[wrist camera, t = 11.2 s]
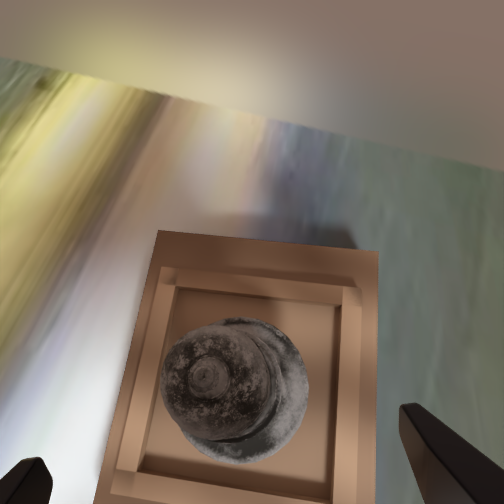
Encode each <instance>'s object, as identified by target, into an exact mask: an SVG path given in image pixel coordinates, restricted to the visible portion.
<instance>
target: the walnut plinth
mask: <svg viewBox="0 0 504 504" xmlns="http://www.w3.org/2000/svg"><path fill="white" fill-rule="evenodd" d="M378 255H379V252H377V251H367V250H356V249H346V248H336V247H326V246H316V245H305V244H295V243H285V242H275V241H264V240H254V239H244V238H234V237H223V236H213V235H203V234H193V233H183V232H172V231H162V230H158V233H157V238H156V242H155V246H154V250H153V254H152V258H151V263H150V267H149V271H148V275H147V279H146V284H145V288H144V292H143V296H142V300H141V304H140V309H139V313H138V317H137V321H136V325H135V330H134V334H133V338H132V342H131V346H130V351H129V355H128V359H127V363H126V367H125V371H124V376H123V380H122V384H121V388H120V392H119V397H118V401H117V405H116V409H115V413H114V417H113V422H112V426H111V430H110V434H109V438H108V443H107V447H106V451H105V455H104V459H103V463H102V468H101V472H100V476H99V480H98V484H97V489H96V493H95V497H94V501H93V504H375V466H376V396H377V325H378ZM241 316H242V317H249V318H255V319H260V320H262V321H264V322H267V323H269V324H271V325H274V326H275V327H276V328H278V329H279V330H280V331H281V332H283V333H284V334H285V335H286V336H288V337H289V339H290V340H291V341H292V343H293V344H294V345H295V347H296V348H297V349H298V351H299V353H300V355H301V357H302V360H303V362H304V364H305V367H306V371H307V377H308V384H309V393H308V403H307V409H306V412H305V414H304V417H303V420H302V423H301V425H300V427H299V428H298V430H297V431H296V433H295V434H294V436H293V437H292V438H291V440H290V441H289V443H287V444H286V445H285V446H284V447H282V448H281V449H280V450H279V451H278V452H276V453H275V454H274V455H272V456H270V457H267V458H265V459H263V460H260V461H258V462H256V463H247V464H238V465H235V464H230V463H224V462H219V461H216V460H214V459H212V458H210V457H208V456H207V455H205V454H203V453H201V452H199V451H198V450H197V449H196V448H195V447H194V446H193V445H192V444H191V443H190V442H189V441H188V440H187V439H186V438H185V436H184V434H183V432H182V431H181V429H180V427H179V426H178V424H177V423H176V422H175V421H174V420H173V419H172V418H171V416H170V414H169V413H168V411H167V409H166V407H165V406H164V402H163V398H162V395H161V389H160V375H161V371H162V366H163V362H164V360H165V358H166V356H167V354H168V352H169V350H170V349H171V348H172V346H173V345H174V344H175V343H176V342H177V340H178V339H180V338H181V337H182V336H184V335H185V334H187V333H188V332H189V331H192V330H195V329H197V328H200V327H202V326H208V325H209V324H212V323H214V322H217V321H219V320H222V319H224V318H233V317H241Z"/></svg>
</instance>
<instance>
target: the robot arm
mask: <svg viewBox="0 0 504 504" xmlns="http://www.w3.org/2000/svg"><path fill="white" fill-rule="evenodd" d="M399 433H400V437H401V440H402V443H403V446H404V448H405V451H406V454H407V457H408V459H409V462H410V465H411V467H412V470H413V473H414V476H415V478H416V481H417V484H418V486H419V489H420V492H421V494H422V497H423V500H424V502H425V504H504V470H503V469H502V468H501V467H499V466H498V465H497V464H496V463H494V462H493V461H492V460H490V459H489V458H488V457H487V456H485V455H484V454H483V453H481V452H480V451H479V450H478V449H476V448H475V447H474V446H472V445H471V444H470V443H469V442H467V441H466V440H465V439H463V438H462V437H461V436H459V435H458V434H457V433H456V432H454V431H453V430H452V429H450V428H449V427H448V426H447V425H445V424H444V423H443V422H441V421H440V420H439V419H438V418H436V417H435V416H434V415H432V414H431V413H430V412H429V411H427V410H426V409H425V408H423V407H422V406H421V405H419V404H418V403H408V404H402V405H401V406H400V408H399ZM52 487H53V480H52V476H51V474H50V472H49V471H48V469H47V467H46V465H45V463H44V461H43V459H42V458H40V457H33V458H26V459H23V460H21V461H20V462H19V463H18V464H16V465H15V466H14V467H13V468H12V469H11V470H10V471H9V472H8V473H7V474H6V475H5V476H4V477H3V478H2V479H0V504H49V500H50V496H51V492H52Z"/></svg>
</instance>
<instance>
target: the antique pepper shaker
mask: <svg viewBox="0 0 504 504" xmlns="http://www.w3.org/2000/svg"><path fill="white" fill-rule="evenodd" d="M160 389H161V395H162V398H163V402H164V406H165V407H166V409H167V411H168V413H169V414H170V416H171V418H172V419H173V420H174V421H175V422H176V423H177V424H178V426H179V427H180V429H181V431H182V432H183V434H184V436H185V438H186V439H187V440H188V441H189V442H190V443H191V444H192V445H193V446H194V447H195V448H196V449H197V450H198V451H199V452H201V453H203V454H205V455H207V456H208V457H210V458H212V459H214V460H216V461H219V462H224V463H230V464H235V465H238V464H247V463H256V462H258V461H260V460H263V459H265V458H267V457H270V456H272V455H274V454H275V453H276V452H278V451H279V450H280V449H281V448H282V447H284V446H285V445H286V444H287V443H289V441H290V440H291V438H292V437H293V436H294V434H295V433H296V431H297V430H298V428H299V427H300V425H301V423H302V420H303V417H304V414H305V412H306V409H307V403H308V393H309V384H308V377H307V371H306V367H305V364H304V362H303V360H302V357H301V355H300V353H299V351H298V349H297V348H296V347H295V345H294V344H293V343H292V341H291V340H290V339H289V337H288V336H286V335H285V334H284V333H283V332H281V331H280V330H279V329H278V328H276V327H275V326H274V325H271V324H269V323H267V322H264V321H262V320H260V319H255V318H249V317H242V316H241V317H233V318H224V319H222V320H219V321H217V322H214V323H212V324H209V325H208V326H202V327H200V328H197V329H195V330H192V331H189V332H188V333H187V334H185V335H184V336H182V337H181V338H180V339H178V340H177V342H176V343H175V344H174V345H173V346H172V348H171V349H170V350H169V352H168V354H167V356H166V358H165V360H164V362H163V366H162V371H161V375H160Z"/></svg>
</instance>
